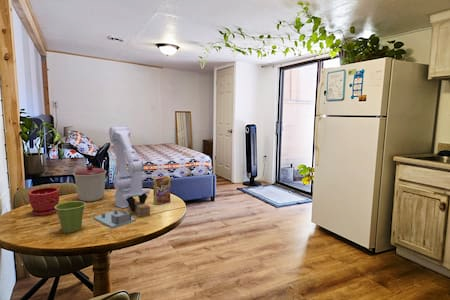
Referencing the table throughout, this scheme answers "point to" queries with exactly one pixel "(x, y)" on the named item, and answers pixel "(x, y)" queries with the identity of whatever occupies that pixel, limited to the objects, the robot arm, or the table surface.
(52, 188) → the plant pot
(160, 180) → the candy box
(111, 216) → the bracket board
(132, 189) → the robot arm
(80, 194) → the canister
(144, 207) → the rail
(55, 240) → the table surface
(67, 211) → the plant pot
